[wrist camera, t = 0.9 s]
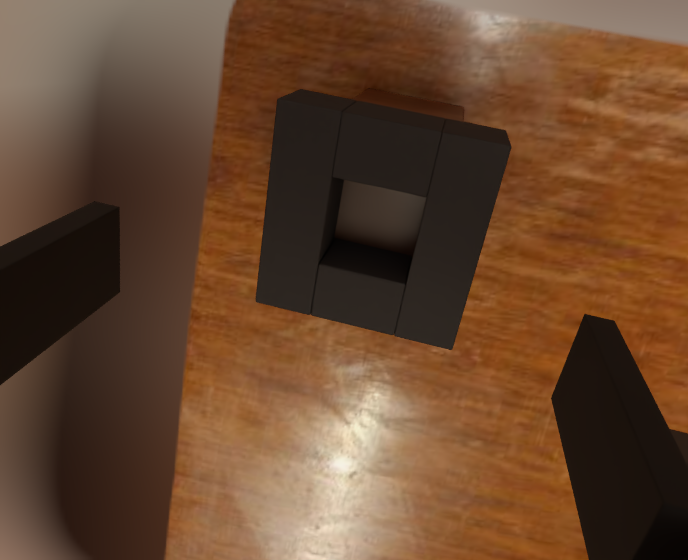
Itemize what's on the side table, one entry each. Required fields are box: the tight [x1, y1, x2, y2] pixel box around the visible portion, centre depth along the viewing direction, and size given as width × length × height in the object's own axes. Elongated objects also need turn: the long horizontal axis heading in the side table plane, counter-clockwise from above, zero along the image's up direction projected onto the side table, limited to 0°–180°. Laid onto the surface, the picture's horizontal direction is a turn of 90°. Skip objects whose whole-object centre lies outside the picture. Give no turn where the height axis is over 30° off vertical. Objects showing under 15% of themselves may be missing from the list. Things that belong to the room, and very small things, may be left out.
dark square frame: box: [256, 89, 511, 350], centre depth 22 cm, size 8×8×3 cm
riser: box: [334, 88, 464, 257], centre depth 27 cm, size 7×5×8 cm
